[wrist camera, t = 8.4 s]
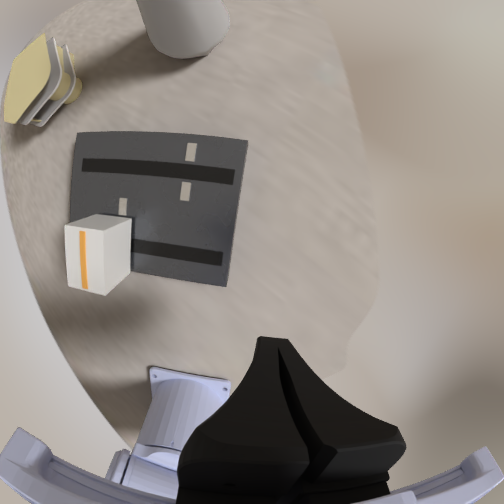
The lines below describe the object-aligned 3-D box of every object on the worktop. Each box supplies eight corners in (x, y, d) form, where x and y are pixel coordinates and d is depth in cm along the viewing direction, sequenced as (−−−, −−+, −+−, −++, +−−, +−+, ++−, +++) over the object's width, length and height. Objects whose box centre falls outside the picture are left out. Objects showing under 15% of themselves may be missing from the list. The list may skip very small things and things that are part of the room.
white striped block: (130, 272, 18) (104, 296, 14) (96, 266, 18) (67, 286, 14) (131, 218, 17) (102, 231, 13) (96, 214, 17) (63, 225, 13)
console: (228, 276, 21) (226, 287, 19) (83, 251, 20) (70, 259, 18) (248, 144, 18) (247, 140, 16) (90, 134, 17) (76, 132, 15)
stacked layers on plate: (29, 76, 15) (-5, 67, 10) (95, 28, 15) (65, 6, 9) (37, 156, 18) (-3, 158, 13) (108, 110, 17) (70, 97, 12)
